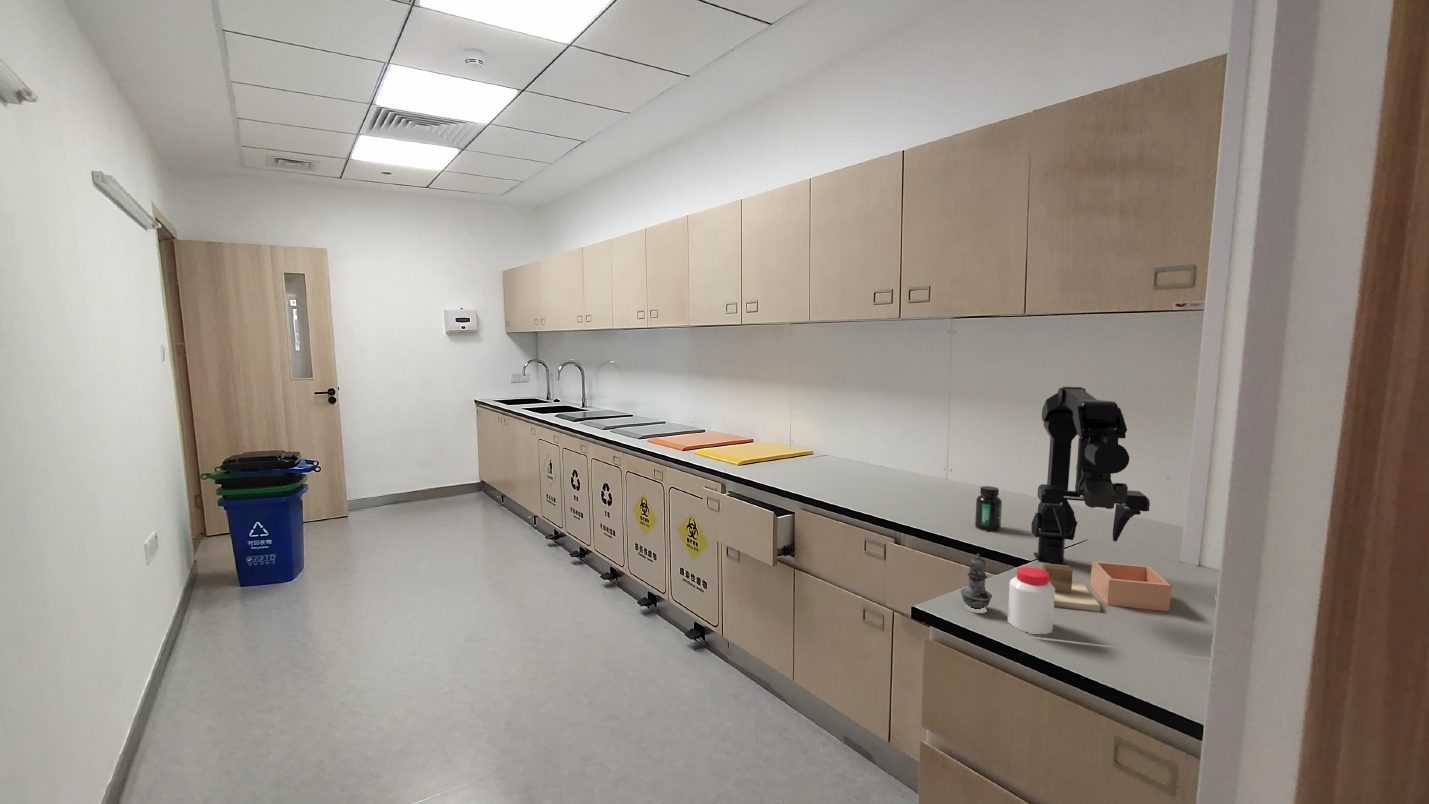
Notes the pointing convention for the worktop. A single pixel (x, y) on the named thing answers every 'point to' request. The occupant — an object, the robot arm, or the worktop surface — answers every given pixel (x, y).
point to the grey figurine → (976, 585)
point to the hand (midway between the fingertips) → (1088, 538)
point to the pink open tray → (1130, 586)
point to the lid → (1069, 589)
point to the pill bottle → (1031, 601)
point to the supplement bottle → (988, 509)
